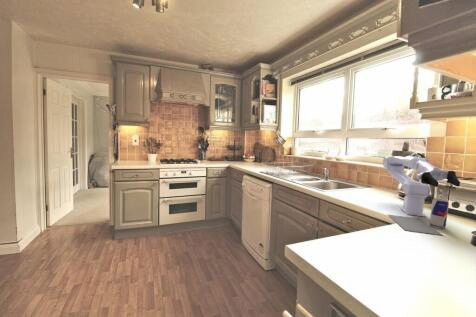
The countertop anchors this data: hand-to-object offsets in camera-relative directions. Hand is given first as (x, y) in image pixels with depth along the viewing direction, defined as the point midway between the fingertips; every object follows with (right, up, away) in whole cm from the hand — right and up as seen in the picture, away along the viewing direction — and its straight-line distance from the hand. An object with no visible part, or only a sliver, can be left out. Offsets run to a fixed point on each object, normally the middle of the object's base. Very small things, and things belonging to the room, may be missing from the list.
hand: (447, 184), depth 96 cm
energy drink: (-1, -19, +4) cm, 20 cm away
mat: (-10, -18, +6) cm, 22 cm away
